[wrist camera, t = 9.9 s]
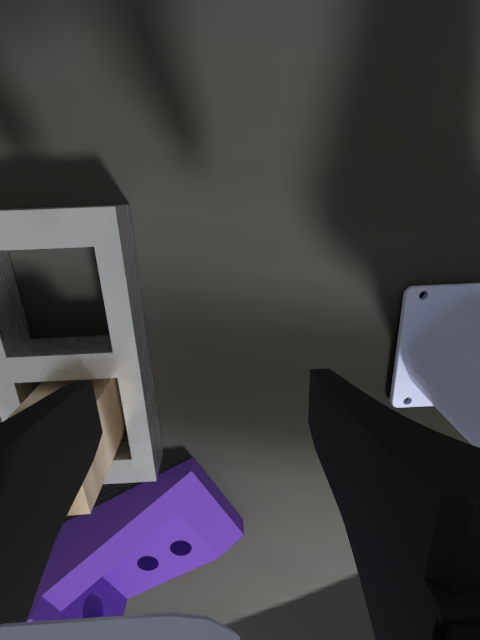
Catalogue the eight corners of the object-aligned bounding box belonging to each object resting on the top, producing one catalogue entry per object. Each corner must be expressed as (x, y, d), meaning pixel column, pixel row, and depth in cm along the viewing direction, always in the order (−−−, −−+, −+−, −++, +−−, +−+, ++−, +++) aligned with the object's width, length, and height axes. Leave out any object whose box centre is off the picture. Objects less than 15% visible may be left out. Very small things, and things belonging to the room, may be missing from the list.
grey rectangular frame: (129, 204, 18) (115, 206, 16) (163, 452, 24) (156, 481, 22) (-28, 210, 18) (-66, 213, 16) (43, 459, 24) (23, 488, 21)
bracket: (113, 576, 28) (81, 689, 22) (56, 523, 26) (2, 632, 20) (242, 516, 27) (248, 619, 20) (193, 454, 25) (182, 548, 18)
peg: (118, 366, 22) (71, 444, 15) (128, 421, 23) (90, 513, 16) (52, 371, 22) (-24, 450, 15) (67, 425, 23) (3, 520, 16)
